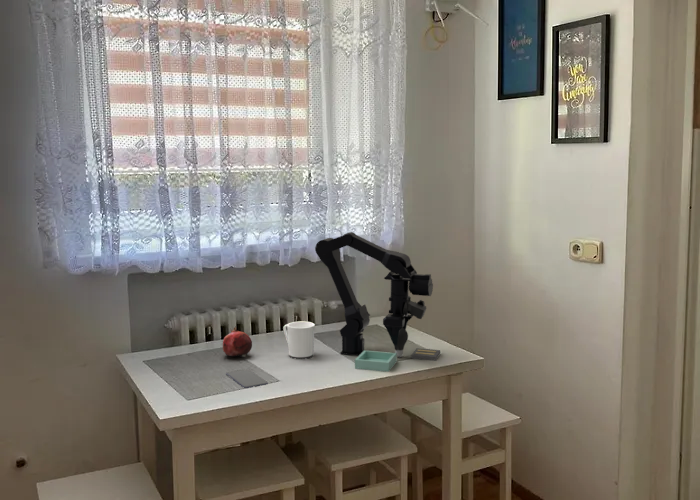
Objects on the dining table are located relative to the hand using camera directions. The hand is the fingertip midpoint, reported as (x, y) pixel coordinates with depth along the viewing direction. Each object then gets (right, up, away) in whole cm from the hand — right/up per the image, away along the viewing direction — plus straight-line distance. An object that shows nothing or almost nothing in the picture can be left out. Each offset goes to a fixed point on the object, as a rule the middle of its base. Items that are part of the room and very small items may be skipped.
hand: (398, 341), depth 236 cm
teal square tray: (-8, -7, -7) cm, 12 cm away
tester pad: (+9, -5, +2) cm, 10 cm away
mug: (-32, -5, +3) cm, 33 cm away
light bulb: (0, -6, +1) cm, 6 cm away
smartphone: (-46, -9, -20) cm, 51 cm away
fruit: (-52, -5, +2) cm, 53 cm away
